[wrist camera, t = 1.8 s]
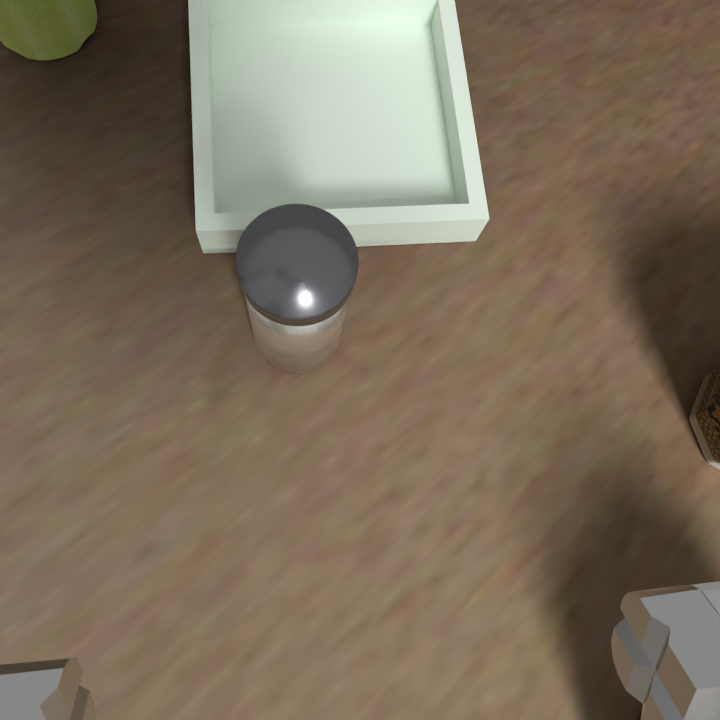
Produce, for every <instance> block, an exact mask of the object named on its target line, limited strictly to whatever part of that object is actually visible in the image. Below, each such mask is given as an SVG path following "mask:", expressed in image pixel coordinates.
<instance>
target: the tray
mask: <svg viewBox="0 0 720 720" xmlns="http://www.w3.org/2000/svg"><path fill="white" fill-rule="evenodd" d="M188 8H189V38H190V69H191V99H192V130H193V161H194V191H195V222H196V234H197V236H198V239H199V242H200V245H201V248H202V251H203V254H208V253H229V252H236V249H237V245H238V242H239V239H240V237H241V235H242V233H243V232H244V230H245V229H246V227H247V226H248V225H249V224H250V223H251V221H253V220H254V219H255V218H256V217H257V216H259V215H260V214H262V213H263V212H265V211H267V210H269V209H271V208H274V207H277V206H281V205H285V204H306V205H311V206H315V207H318V208H321V209H323V210H325V211H327V212H329V213H331V214H332V215H334V216H335V217H336V218H338V219H339V220H340V221H341V222H342V223H343V224H344V225H345V226H346V228H347V229H348V230H349V232H350V233H351V235H352V237H353V239H354V241H355V244H356V247H358V246H379V245H401V244H422V243H443V242H465V241H476V240H477V238H478V236H479V235H480V233H481V232H482V230H483V228H484V227H485V225H486V223H487V222H488V220H489V214H488V208H487V202H486V195H485V189H484V183H483V177H482V170H481V164H480V158H479V151H478V145H477V139H476V133H475V126H474V120H473V114H472V107H471V101H470V95H469V89H468V82H467V76H466V70H465V63H464V57H463V51H462V45H461V38H460V32H459V26H458V19H457V13H456V7H455V1H454V0H188Z"/></svg>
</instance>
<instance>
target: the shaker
mask: <svg viewBox="0 0 720 720" xmlns="http://www.w3.org/2000/svg"><path fill="white" fill-rule="evenodd" d="M235 263H236V270H237V274H238V279H239V283H240V286H241V289H242V292H243V294H244V296H245V299H246V303H247V308H248V312H249V317H250V321H251V325H252V330H253V334H254V339H255V343H256V346H257V348H258V351H259V352H260V354H261V356H262V357H263V358H264V359H265V360H266V361H267V362H268V363H269V364H270V365H272V366H273V367H275V368H276V369H278V370H281V371H283V372H287V373H294V374H301V373H307V372H311V371H314V370H316V369H318V368H320V367H322V366H323V365H324V364H326V363H327V362H328V361H329V360H330V359H331V357H332V356H333V355H334V353H335V351H336V349H337V347H338V344H339V340H340V336H341V331H342V327H343V322H344V318H345V314H346V309H347V305H348V300H349V297H350V295H351V293H352V290H353V288H354V284H355V280H356V275H357V271H358V252H357V247H356V244H355V241H354V239H353V237H352V235H351V233H350V232H349V230H348V229H347V228H346V226H345V225H344V224H343V223H342V222H341V221H340V220H339V219H338V218H336V217H335V216H334V215H332V214H331V213H329V212H327V211H325V210H323V209H321V208H318V207H315V206H311V205H306V204H285V205H281V206H277V207H274V208H271V209H269V210H267V211H265V212H263V213H262V214H260V215H259V216H257V217H256V218H255V219H254V220H253V221H251V223H250V224H249V225H248V226H247V227H246V229H245V230H244V232H243V233H242V235H241V237H240V239H239V242H238V245H237V249H236V258H235Z"/></svg>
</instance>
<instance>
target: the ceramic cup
mask: <svg viewBox="0 0 720 720" xmlns="http://www.w3.org/2000/svg"><path fill="white" fill-rule="evenodd" d="M689 421H690V423H691V426H692V428H693V431H694V433H695V435H696V438H697V440H698V443H699V445H700V447H701V450H702V452H703V455H704V457H705V459H706V461H707V462H708V463H709V464H710V465H712V466H714V467H716V468H718V469H719V470H720V366H719V367H718V368H716V369H715V370H713V371H712V372H711V373H710V374H708V375H707V376H706V377H705V378H704V379H703V381H702V384H701V387H700V389H699V392H698V394H697V397H696V399H695V402H694V405H693V407H692V410H691V413H690V416H689Z"/></svg>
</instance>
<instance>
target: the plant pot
mask: <svg viewBox="0 0 720 720" xmlns="http://www.w3.org/2000/svg"><path fill="white" fill-rule="evenodd" d="M96 25H97V9H96V5H95V1H94V0H0V41H1V42H2V43H3V44H4V45H5V46H6V47H7V48H9V49H11V50H13V51H15V52H16V53H18V54H20V55H22V56H24V57H26V58H28V59H33V60H54V59H59V58H62V57H66V56H68V55H71V54H73V53H75V52H76V51H78V50H79V49H80V47H81V46H82V44H83V42H84V41H85V40H86V39H87V38H88V37H89V36H90V35H91V34H92V33H94V31H95V28H96Z"/></svg>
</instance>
